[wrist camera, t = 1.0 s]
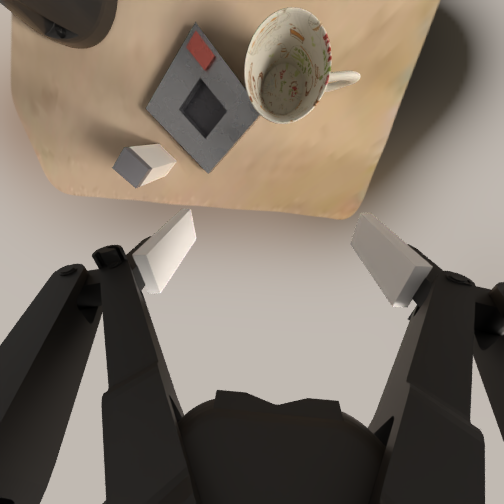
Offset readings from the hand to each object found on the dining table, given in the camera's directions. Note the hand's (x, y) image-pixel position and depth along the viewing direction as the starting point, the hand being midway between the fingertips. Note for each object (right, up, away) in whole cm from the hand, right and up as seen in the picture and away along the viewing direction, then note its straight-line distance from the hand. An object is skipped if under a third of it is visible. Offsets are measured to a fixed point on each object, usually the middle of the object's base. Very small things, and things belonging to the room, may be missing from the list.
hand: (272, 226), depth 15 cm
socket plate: (-8, +19, +14) cm, 25 cm away
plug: (-17, +14, +18) cm, 28 cm away
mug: (+5, +21, +12) cm, 24 cm away
